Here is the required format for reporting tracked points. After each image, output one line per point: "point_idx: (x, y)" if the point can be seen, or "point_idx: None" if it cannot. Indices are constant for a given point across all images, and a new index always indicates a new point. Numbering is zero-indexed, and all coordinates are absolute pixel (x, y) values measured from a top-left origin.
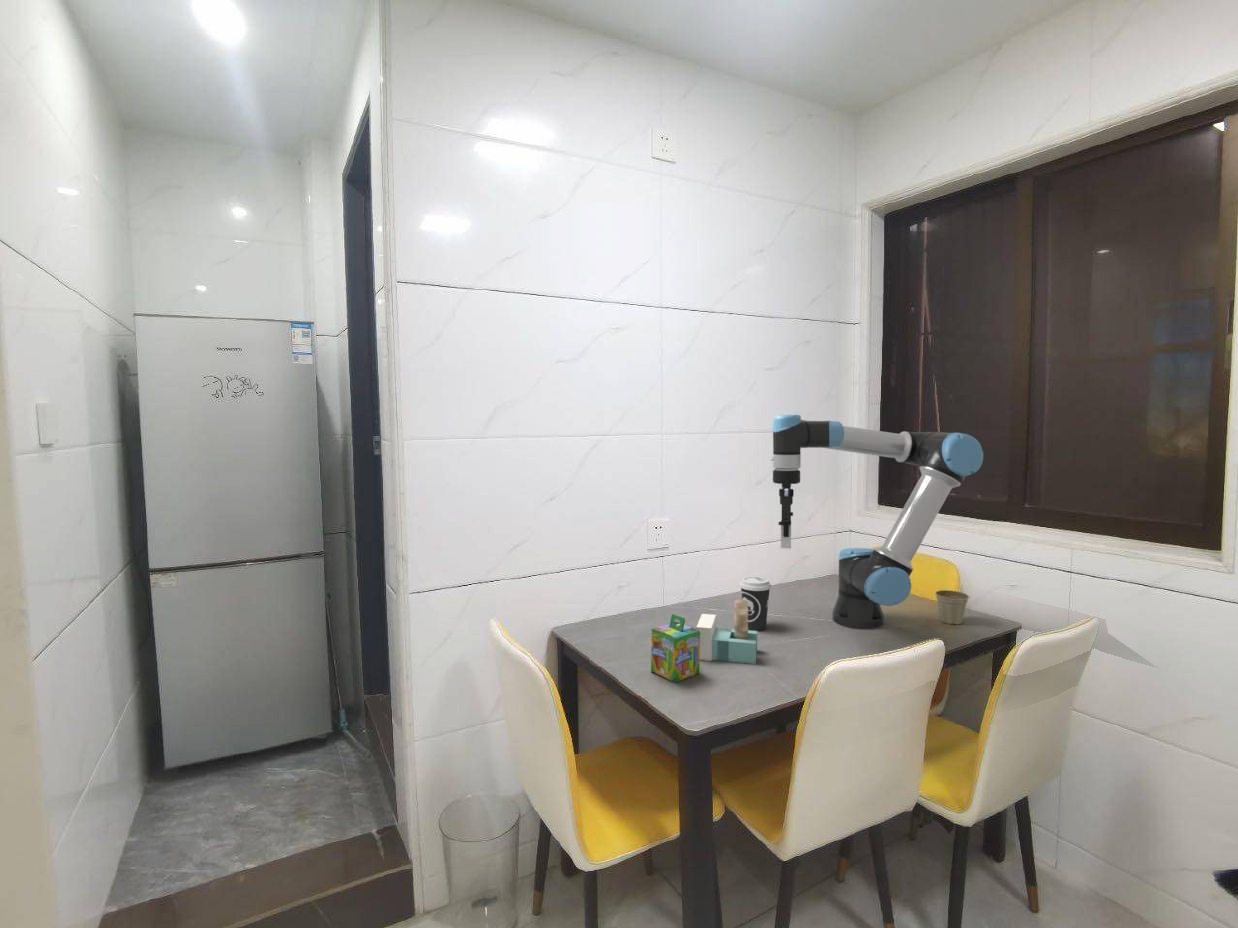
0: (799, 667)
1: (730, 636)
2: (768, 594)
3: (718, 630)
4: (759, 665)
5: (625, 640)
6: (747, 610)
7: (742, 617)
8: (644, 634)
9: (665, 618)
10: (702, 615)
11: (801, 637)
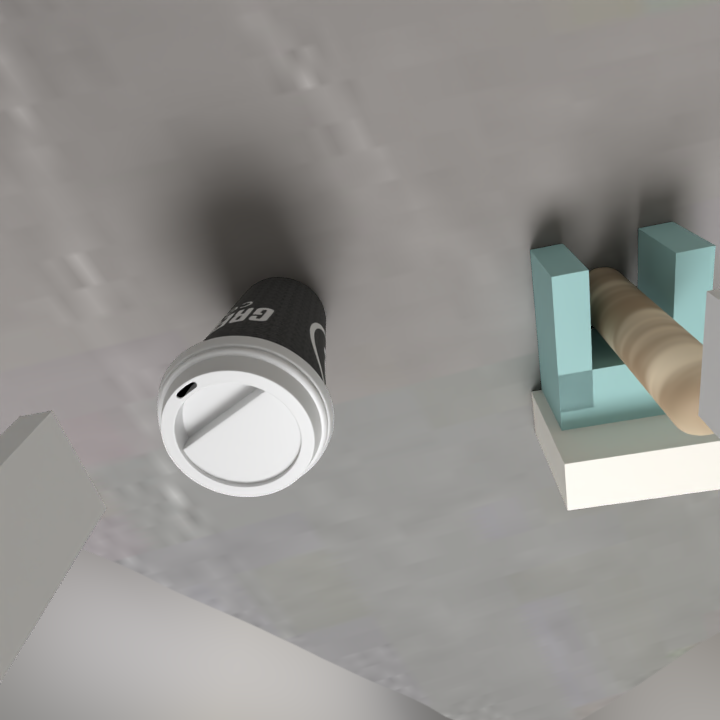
0: (673, 35)
1: (619, 359)
2: (252, 330)
3: (589, 414)
4: (685, 203)
5: (573, 609)
6: (702, 351)
7: None
8: (508, 587)
9: (346, 583)
10: (588, 503)
11: (306, 105)
